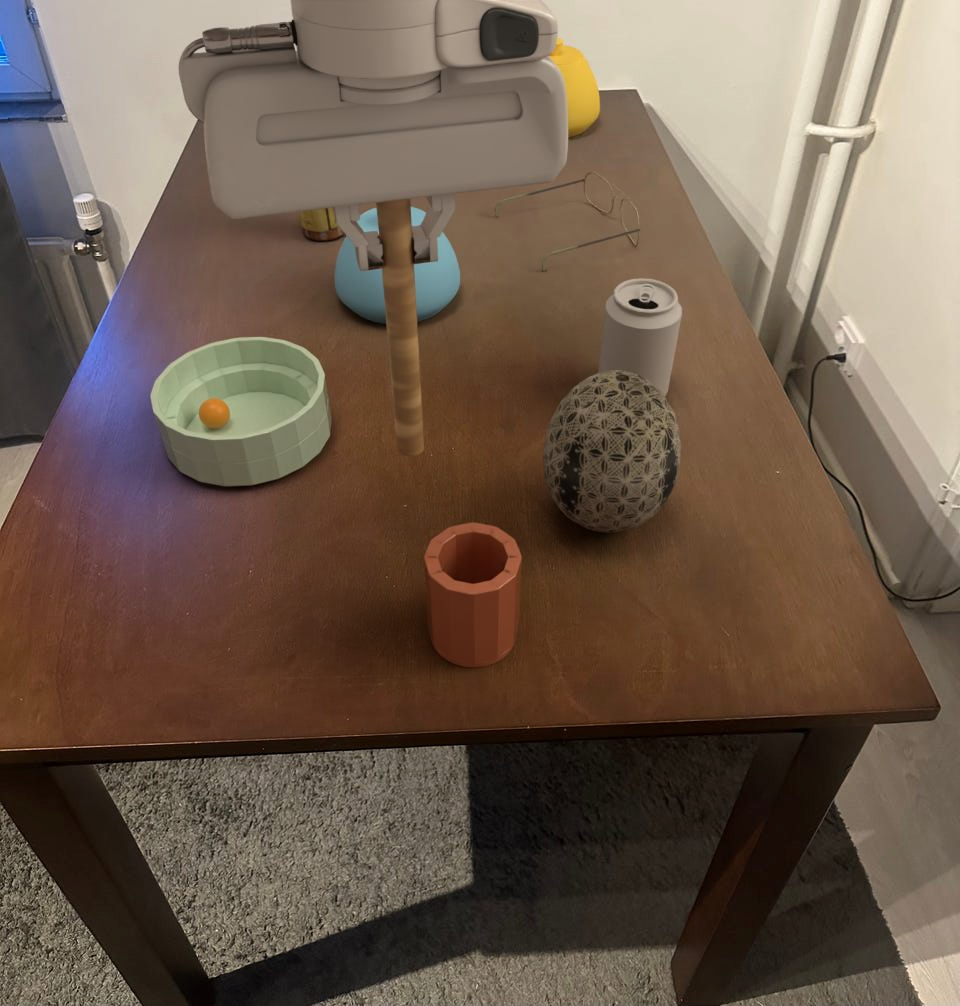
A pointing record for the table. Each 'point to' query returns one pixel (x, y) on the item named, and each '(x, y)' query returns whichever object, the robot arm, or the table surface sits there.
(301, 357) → the bowl
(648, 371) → the can
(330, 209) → the sauce bottle
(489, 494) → the table surface
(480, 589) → the utensil pot
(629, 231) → the eyeglasses
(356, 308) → the sugar bowl
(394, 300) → the stirring stick
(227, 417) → the bead
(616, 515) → the decorative egg
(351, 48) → the robot arm
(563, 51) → the teapot
